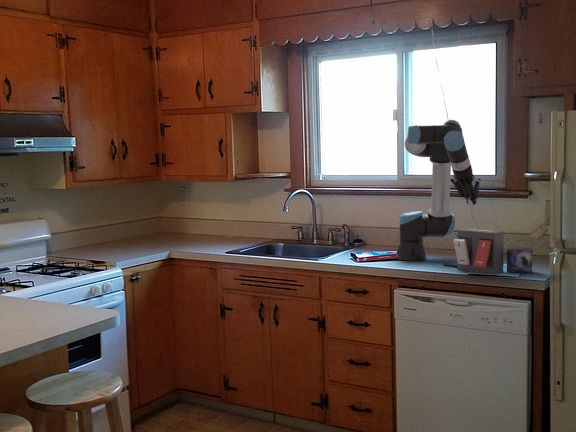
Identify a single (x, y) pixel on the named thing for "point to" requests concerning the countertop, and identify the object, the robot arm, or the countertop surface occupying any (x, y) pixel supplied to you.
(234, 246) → the countertop surface
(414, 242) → the robot arm
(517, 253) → the small box
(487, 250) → the rocker red
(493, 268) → the power unit
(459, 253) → the rocker ivory
